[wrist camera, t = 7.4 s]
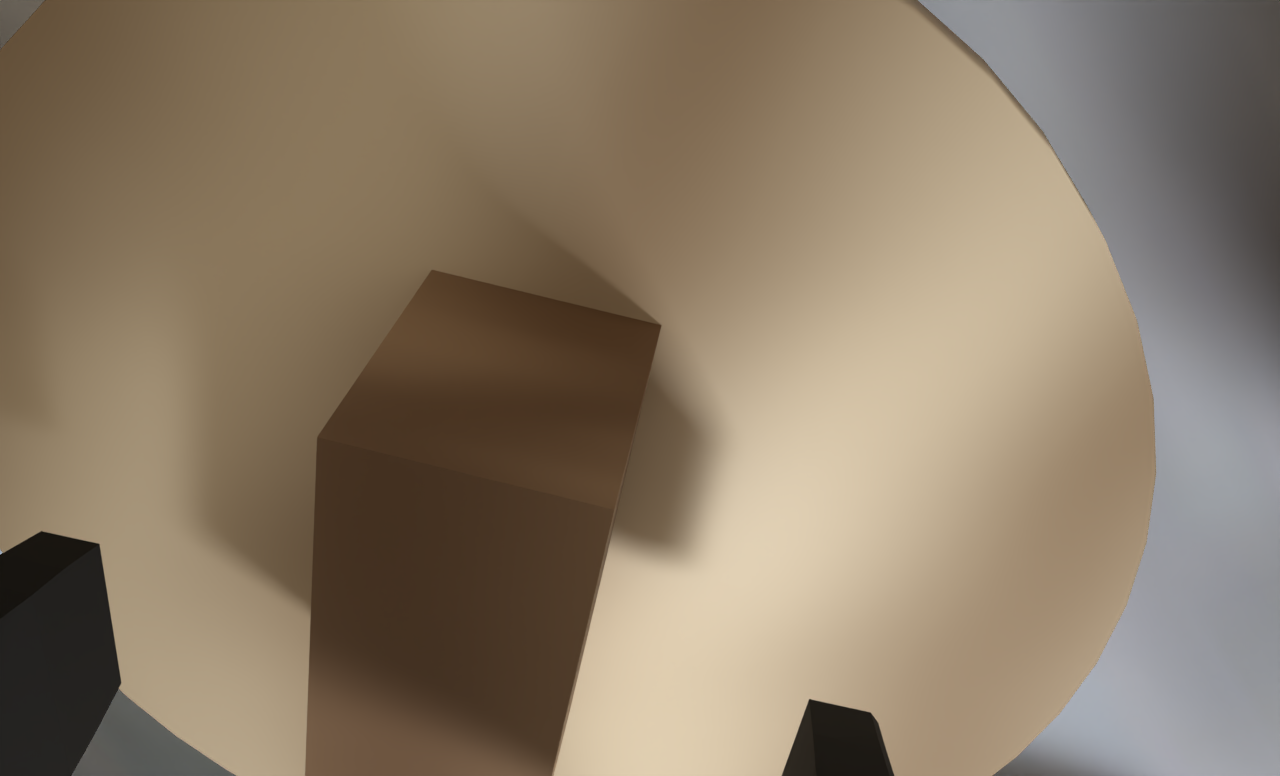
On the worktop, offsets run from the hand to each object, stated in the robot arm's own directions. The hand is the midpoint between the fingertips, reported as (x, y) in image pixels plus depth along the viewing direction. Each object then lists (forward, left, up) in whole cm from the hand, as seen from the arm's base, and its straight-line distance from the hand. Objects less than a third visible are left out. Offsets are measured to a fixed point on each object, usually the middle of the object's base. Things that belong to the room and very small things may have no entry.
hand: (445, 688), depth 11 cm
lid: (0, 0, -3) cm, 3 cm away
